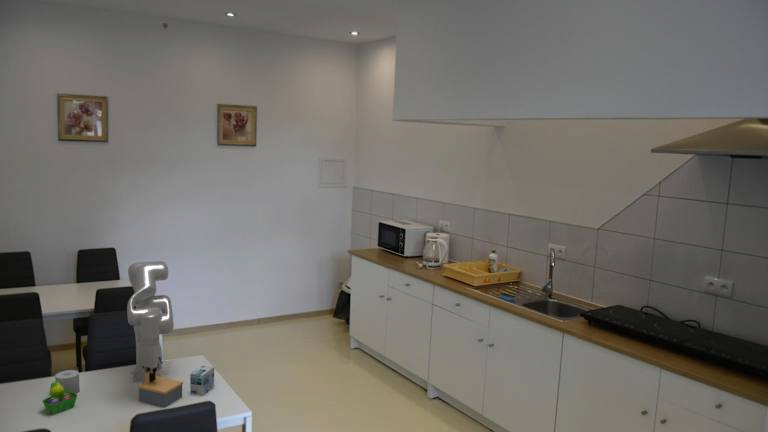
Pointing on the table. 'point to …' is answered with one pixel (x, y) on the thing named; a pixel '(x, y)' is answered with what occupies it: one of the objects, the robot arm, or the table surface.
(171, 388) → the lid
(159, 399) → the tub
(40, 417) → the table surface
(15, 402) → the table surface
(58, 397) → the fruit basket
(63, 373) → the toilet tissue
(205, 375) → the light bulb box
